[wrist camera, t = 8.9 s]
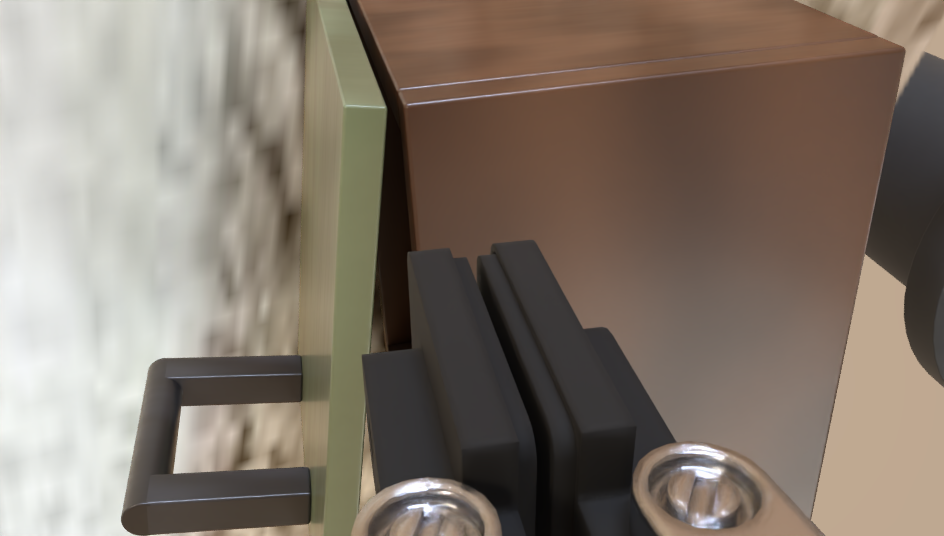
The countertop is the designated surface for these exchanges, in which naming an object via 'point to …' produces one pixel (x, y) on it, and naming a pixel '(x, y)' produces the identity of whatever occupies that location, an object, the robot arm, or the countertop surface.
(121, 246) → the countertop surface
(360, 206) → the cupboard door
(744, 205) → the cupboard
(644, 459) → the robot arm
